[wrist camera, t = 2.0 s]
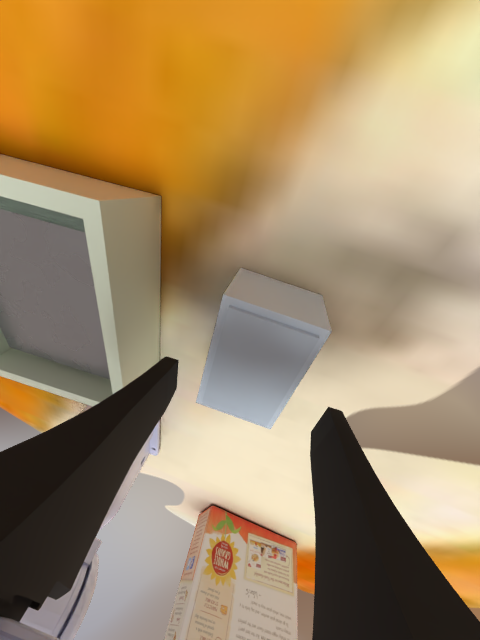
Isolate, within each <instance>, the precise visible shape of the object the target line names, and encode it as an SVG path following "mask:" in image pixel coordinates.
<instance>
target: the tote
mask: <svg viewBox="0 0 480 640" xmlns="http://www.w3.org/2000/svg"><path fill="white" fill-rule="evenodd" d="M0 196H2V197H5V198H9V199H13V200H16V201H20V202H24V203H27V204H31V205H34V206H38V207H42V208H45V209H49V210H53V211H56V212H60V213H64V214H67V215H71V216H75V217H78V218H82V219H83V222H84V228H85V233H86V239H87V245H88V251H89V257H90V263H91V269H92V275H93V281H94V287H95V292H96V298H97V304H98V310H99V316H100V322H101V328H102V334H103V340H104V346H105V351H106V357H107V363H108V369H109V375H110V379H107V378H104V377H100V376H97V375H94V374H91V373H88V372H85V371H82V370H79V369H76V368H72V367H69V366H66V365H63V364H60V363H57V362H54V361H51V360H48V359H44V358H41V357H38V356H35V355H32V354H29V353H26V352H23V351H20V350H16V349H13V348H10V347H9V345H8V343H7V341H6V339H5V337H4V334H3V332H2V330H1V328H0V376H2V377H5V378H8V379H11V380H14V381H17V382H20V383H23V384H26V385H29V386H32V387H35V388H38V389H41V390H44V391H47V392H50V393H53V394H56V395H59V396H62V397H65V398H68V399H71V400H74V401H77V402H80V403H83V404H86V405H89V406H92V407H93V406H95V405H96V404H98V403H100V402H101V401H103V400H104V399H106V398H108V397H109V396H111V395H112V394H114V393H115V392H117V391H119V390H120V389H122V388H123V387H125V386H126V385H128V384H129V383H130V382H132V381H133V380H135V379H136V378H138V377H139V376H140V375H142V374H143V373H144V372H146V371H147V370H149V369H150V368H151V367H152V366H154V365H155V364H156V363H158V362H159V361H160V284H161V196H160V195H156V194H152V193H148V192H144V191H140V190H137V189H133V188H129V187H125V186H121V185H117V184H114V183H110V182H106V181H102V180H98V179H94V178H91V177H87V176H83V175H79V174H75V173H72V172H68V171H64V170H60V169H56V168H52V167H49V166H45V165H41V164H37V163H33V162H29V161H26V160H22V159H18V158H14V157H10V156H6V155H3V154H0Z"/></svg>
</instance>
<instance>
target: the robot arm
mask: <svg viewBox="0 0 480 640" xmlns="http://www.w3.org/2000/svg"><path fill="white" fill-rule="evenodd" d="M177 374H178V360H176V359H173V358H170V357H167V356H166V357H164V358H163V359H162V360H160V361H159V362H158V363H156V364H155V365H154V366H152V367H151V368H150V369H149V370H147V371H146V372H144V373H143V374H142V375H140V376H139V377H138V378H136V379H135V380H133V381H132V382H130V383H129V384H128V385H126V386H125V387H123V388H122V389H120V390H119V391H117V392H115V393H114V394H112V395H111V396H109V397H108V398H106V399H104V400H103V401H101V402H100V403H98V404H96V405H95V406H93V407H92V406H89V405H87V406H86V407H85V408H84V409H83V410H82V411H81V413H80V414H79V415H77V416H75V417H73V418H71V419H69V420H67V421H65V422H63V423H62V424H60V425H58V426H56V427H54V428H52V429H50V430H48V431H46V432H44V433H42V434H39V435H37V436H35V437H33V438H31V439H28V440H26V441H24V442H22V443H19V444H17V445H15V446H13V447H10V448H8V449H6V450H4V451H2V452H0V640H73V639H74V637H75V635H76V633H77V631H78V629H79V627H80V625H81V623H82V621H83V618H84V616H85V614H86V612H87V609H88V607H89V604H90V602H91V599H92V596H93V593H94V589H95V586H96V581H97V573H98V572H97V571H98V555H97V554H96V552H97V550H98V548H99V546H100V544H101V542H102V541H101V540H99V539H97V538H95V537H96V535H97V533H98V531H99V530H100V529H102V528H103V527H104V526H105V525H106V524H107V523H109V522H110V521H111V519H112V518H113V517H114V516H115V515H116V513H117V512H118V510H119V509H120V507H121V505H122V503H123V501H124V500H125V498H126V496H127V494H128V492H129V490H130V488H131V487H132V485H133V483H134V481H135V479H136V477H137V475H138V474H139V472H140V470H141V468H142V466H143V464H144V462H145V461H146V459H147V457H148V455H149V454H152V455H158V453H159V443H160V418H161V417H162V415H163V414H164V412H165V410H166V409H167V407H168V405H169V403H170V401H171V399H172V397H173V395H174V392H175V390H176V388H177ZM310 457H311V471H312V484H313V496H314V508H315V526H316V558H315V597H314V598H315V599H314V620H313V638H312V640H480V622H479V621H478V619H477V618H476V617H475V615H474V614H473V613H472V612H471V611H470V609H469V608H468V607H467V605H466V604H465V603H464V602H463V600H462V599H461V598H460V596H459V595H458V594H457V592H456V591H455V590H454V589H453V587H452V586H451V585H450V583H449V582H448V581H447V579H446V578H445V577H444V575H443V574H442V573H441V571H440V570H439V569H438V567H437V566H436V564H435V563H434V562H433V560H432V559H431V558H430V556H429V555H428V554H427V552H426V551H425V549H424V548H423V547H422V545H421V544H420V542H419V541H418V540H417V538H416V537H415V535H414V534H413V532H412V531H411V529H410V528H409V526H408V525H407V523H406V522H405V520H404V519H403V517H402V516H401V514H400V513H399V511H398V510H397V508H396V507H395V505H394V504H393V502H392V500H391V499H390V497H389V495H388V494H387V492H386V491H385V489H384V487H383V486H382V484H381V482H380V481H379V479H378V477H377V476H376V474H375V472H374V470H373V469H372V467H371V465H370V463H369V461H368V460H367V458H366V456H365V454H364V452H363V450H362V449H361V447H360V445H359V443H358V441H357V439H356V438H355V435H354V434H353V432H352V430H351V428H350V426H349V424H348V422H347V420H346V418H345V416H344V414H343V412H342V411H340V410H337V409H333V408H330V407H328V408H327V410H326V411H325V413H324V414H323V415H322V417H321V418H320V420H319V421H318V423H317V424H316V426H315V427H314V428H313V430H312V431H311V450H310Z"/></svg>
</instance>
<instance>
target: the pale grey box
mask: <svg viewBox="0 0 480 640" xmlns="http://www.w3.org/2000/svg"><path fill="white" fill-rule="evenodd" d="M331 332H332V330H331V326H330V323H329V319H328V315H327V311H326V307H325V304H324V300H323V296H322V295H320V294H317V293H314V292H311V291H308V290H305V289H302V288H299V287H296V286H293V285H290V284H287V283H285V282H282V281H279V280H276V279H273V278H270V277H267V276H264V275H261V274H258V273H255V272H252V271H249V270H246V269H243V268H240V269H239V271H238V272H237V274H236V275H235V277H234V278H233V280H232V281H231V283H230V285H229V286H228V288H227V289H226V291H225V292H224V294H223V297H222V301H221V305H220V309H219V313H218V317H217V321H216V325H215V329H214V333H213V337H212V341H211V345H210V349H209V352H208V356H207V360H206V364H205V368H204V372H203V376H202V380H201V384H200V388H199V392H198V396H197V400H196V403H198V404H201V405H204V406H207V407H210V408H212V409H215V410H218V411H221V412H224V413H226V414H229V415H232V416H235V417H237V418H240V419H243V420H246V421H249V422H251V423H254V424H257V425H260V426H262V427H265V428H268V429H271V428H272V426H273V424H274V423H275V421H276V420H277V418H278V417H279V415H280V413H281V412H282V410H283V409H284V407H285V405H286V404H287V402H288V401H289V399H290V397H291V396H292V394H293V393H294V391H295V389H296V388H297V386H298V385H299V383H300V381H301V380H302V378H303V377H304V375H305V373H306V372H307V370H308V369H309V367H310V365H311V364H312V362H313V361H314V359H315V358H316V356H317V354H318V353H319V351H320V350H321V348H322V346H323V345H324V343H325V342H326V340H327V338H328V337H329V335H330V334H331Z"/></svg>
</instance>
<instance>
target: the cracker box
mask: <svg viewBox="0 0 480 640" xmlns="http://www.w3.org/2000/svg"><path fill="white" fill-rule="evenodd" d="M297 635H298V631H297V544H296V543H295V542H294V541H291V540H289V539H287V538H284V537H282V536H280V535H278V534H275V533H273V532H271V531H269V530H266V529H264V528H262V527H260V526H257V525H255V524H253V523H251V522H248V521H246V520H244V519H242V518H240V517H237V516H235V515H233V514H231V513H229V512H227V511H225V510H222V509H220V508H218V507H216V506H211V507H209V508H208V509H207V510H205V511H204V512H202V513H201V514H199V517H198V521H197V524H196V528H195V531H194V535H193V538H192V542H191V546H190V549H189V552H188V556H187V559H186V563H185V566H184V570H183V574H182V577H181V580H180V584H179V588H178V591H177V595H176V598H175V602H174V606H173V609H172V613H171V617H170V620H169V624H168V627H167V631H166V634H165V638H164V640H298V636H297Z"/></svg>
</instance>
